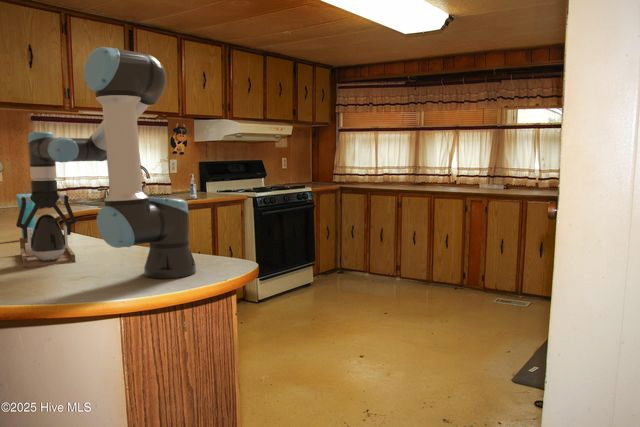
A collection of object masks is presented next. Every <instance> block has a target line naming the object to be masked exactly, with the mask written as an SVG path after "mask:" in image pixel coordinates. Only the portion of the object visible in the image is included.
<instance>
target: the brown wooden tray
mask: <svg viewBox="0 0 640 427" xmlns="http://www.w3.org/2000/svg"><path fill="white" fill-rule="evenodd" d="M63 236H64V234H63ZM31 238H32V237H31ZM26 243H28V238H26V239H24V238H22V237H19V247H20V248H19V249H20V257H21V261H22V265H23V268H33V267H42V265H43V266H51V265H60V264H69V263H70V264H72V263H76V254H75V252H74V251H73V250H72V249H71V247H70V246H69V244H68V245H67V246H65V248H66V252H63V254H62V256H61V257H59V258H58V259H55V260H49V261H42V260H39V259H37V258H36V257H35V256H34V255H26V249H25V244H26ZM71 262H72V263H71ZM32 266H33V267H32Z"/></svg>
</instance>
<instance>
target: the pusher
mask: <svg viewBox="0 0 640 427" xmlns="http://www.w3.org/2000/svg"><path fill="white" fill-rule="evenodd" d="M25 249H26V255H34V254H33V252H32V250H31V249H29V248H28V243H26V244H25ZM64 252H66V248H64Z"/></svg>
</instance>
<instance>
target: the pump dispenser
mask: <svg viewBox="0 0 640 427" xmlns="http://www.w3.org/2000/svg"><path fill="white" fill-rule="evenodd" d="M61 220H62V218H61V217H60V216H57V217H55V216H54V215H52V214H51V213H44V214H41V215H39V217H37V219H36V220H35V226H34V229H33V233H32V238H31V250H32V252H33V254H34V256H35V257H36V258H37V259H39V260H42V261H49V260H55V259H58V258H59V257H61V256H62V254H63V252H64V248H65V240H64V236H63V235H64V232H63V230H62V228H61V226H60V223H59V221H61Z"/></svg>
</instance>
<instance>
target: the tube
mask: <svg viewBox="0 0 640 427" xmlns="http://www.w3.org/2000/svg"><path fill="white" fill-rule="evenodd" d="M31 194H32V192H31V193H18V194H15V195H16V200H17V206H18V208H17V209H18V213H19V212H20V208H21V205H22V202H21V197H30V196H31ZM34 205H35V204H34V202H33V201H32V200H29V203H27V204H26V208H25V212H24V216H23V219H22V223H21V224H24V223H25V221H26V219H27V217H28V216H29V214H30V212H31V211H32V209H33V207H34ZM35 223H36V214H35V215H34V217H33V219H32V220H31V222H30V224H29V225H28V227H27V228H30V237H32V233H33V229H34V226H35ZM20 229H21V236H22V237H21V238H24V237H23V229H22V228H20Z"/></svg>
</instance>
